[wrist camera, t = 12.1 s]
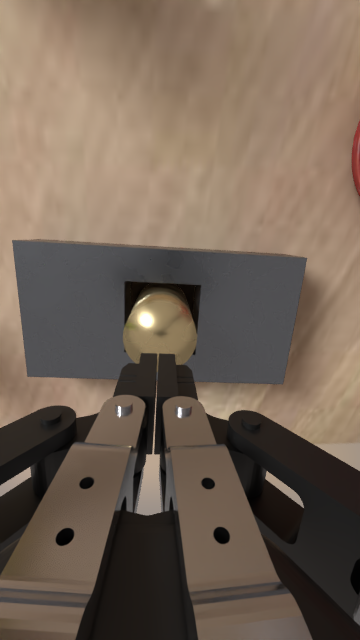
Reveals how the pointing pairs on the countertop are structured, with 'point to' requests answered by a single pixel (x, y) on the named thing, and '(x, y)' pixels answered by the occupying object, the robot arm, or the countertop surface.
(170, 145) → the countertop surface
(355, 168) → the plant pot
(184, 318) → the gold cylinder
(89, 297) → the jig
